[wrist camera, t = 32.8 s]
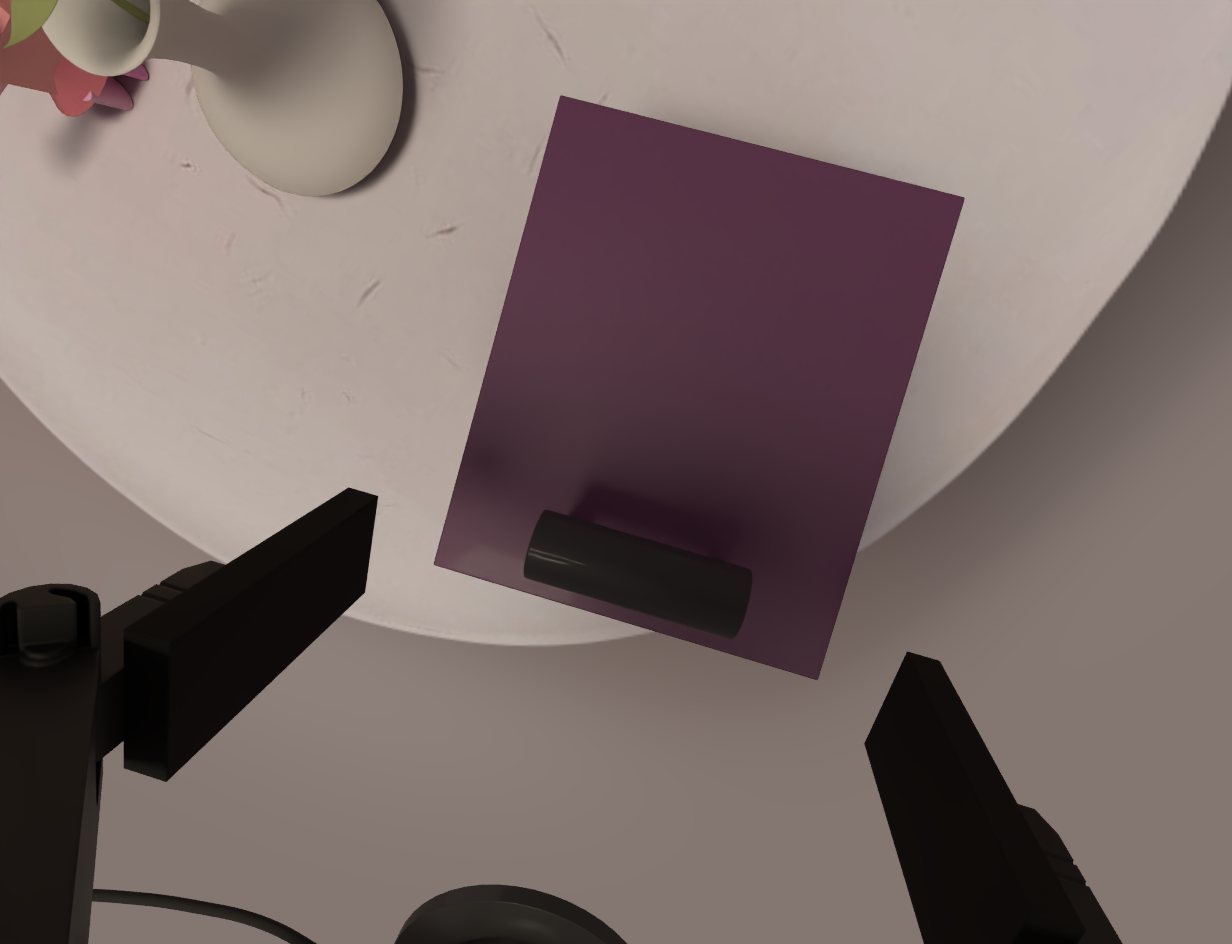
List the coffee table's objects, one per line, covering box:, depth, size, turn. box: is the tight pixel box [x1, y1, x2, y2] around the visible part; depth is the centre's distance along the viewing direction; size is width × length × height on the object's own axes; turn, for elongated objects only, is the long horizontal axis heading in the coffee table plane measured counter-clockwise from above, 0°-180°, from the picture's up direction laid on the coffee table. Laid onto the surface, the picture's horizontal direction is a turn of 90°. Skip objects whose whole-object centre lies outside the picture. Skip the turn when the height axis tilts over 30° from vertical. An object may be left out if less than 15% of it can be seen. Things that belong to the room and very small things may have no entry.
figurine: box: [0, 0, 148, 117], centre depth 33 cm, size 3×12×11 cm, turn 140°
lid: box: [434, 96, 964, 680], centre depth 20 cm, size 16×14×6 cm
